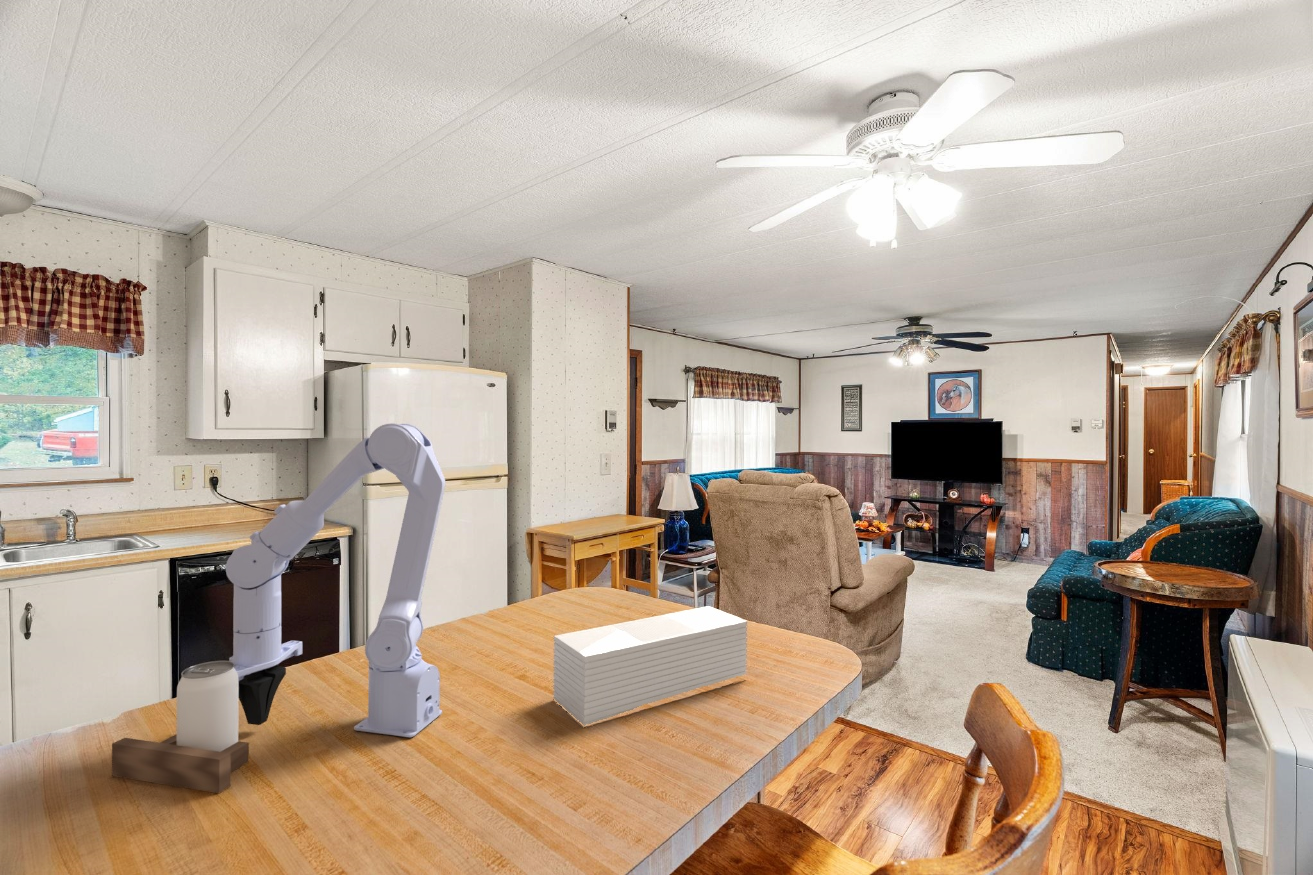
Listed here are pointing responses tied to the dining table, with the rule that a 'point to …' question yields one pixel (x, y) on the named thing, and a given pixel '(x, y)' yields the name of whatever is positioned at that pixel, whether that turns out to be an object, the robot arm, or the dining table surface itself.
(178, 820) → the dining table surface
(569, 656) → the stack of papers
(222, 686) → the can
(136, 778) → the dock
